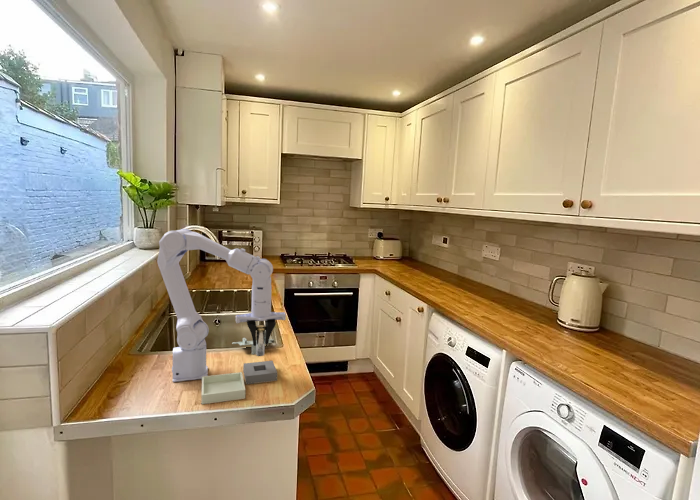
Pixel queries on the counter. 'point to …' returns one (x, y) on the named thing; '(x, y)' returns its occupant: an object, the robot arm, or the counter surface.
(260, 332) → the steel pin
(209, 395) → the tray
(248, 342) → the metal bracket
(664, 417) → the counter surface
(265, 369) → the pin block
